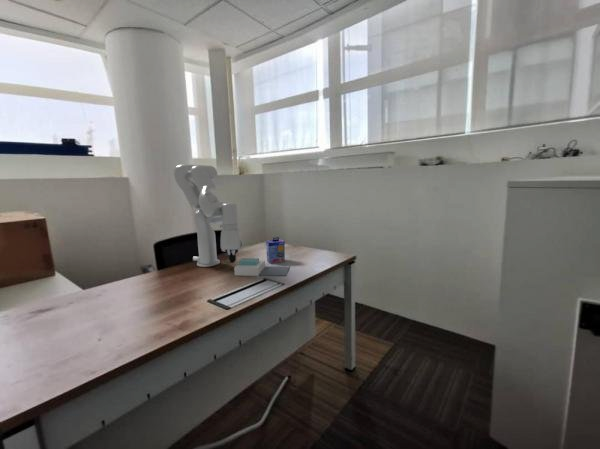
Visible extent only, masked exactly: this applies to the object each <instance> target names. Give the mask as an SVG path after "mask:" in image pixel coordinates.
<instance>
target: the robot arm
mask: <svg viewBox="0 0 600 449" xmlns="http://www.w3.org/2000/svg"><path fill="white" fill-rule="evenodd" d="M173 176H174V180H175V182H176V185H177V186H178V187H179V189H180V190H181V191H182V193H183V194H184V196H185V199H186V200H187V202H188V204H189V206H190V208H191V209H193V210H194V211H195V212H194V213H193V220H194V224H195V227H196V228H195V229H196V234H197V247H198V249H197V250H198V256H193V257H192V261H194V262H195V261H197V262H196V266H197V267H201V268H202V267H204V268H206V267H207V268H208V267H214V266H218V265H219V264H220V263H221V261H220V259H218V256H217V242H216V232H215V230H214V229H213V227H212V226H213V225H218V224H221V225H219V226H220V227H219V228H220V229H222V230H221V232H220V249H221V252H225V253H226V254H227V255H228V259H229V260H228V261H229V262H230V264H234V263H235V262H236V260H237V257H236V255H237V254H238V253H239V252H242V251H243V241H242V235H241V231H240V229H239V220H238V206H237V204H236V203H235V202H227V201H219V199H218V197H217V196H216V195H215V194H214V191H215V190H216V188H217V187H216V184H215V182H214V181H216V180H217V178H218V171H217V169H216V167H215V166H213V165H206V164H205V165H204V164H189V163H188V164H185V163H184V164H178V165H176V167H175V168H174V169H173ZM192 180H193V181H194V182H193V181H192Z"/></svg>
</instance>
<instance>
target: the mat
mask: <svg viewBox="0 0 600 449" xmlns="http://www.w3.org/2000/svg"><path fill="white" fill-rule="evenodd" d="M290 268H291V267H290V266H281V265H280V266H279V265H278V266H277V265H276V266H271V265H270V266H269V265H267V266H266V265H265V268H264V269H263V270H262V272H261V273H260V274H259V277H261V276H262V277H264V276H265V277H266V276H267V277H276V276H277V277H286V276H287V275H288V272H289V270H290Z"/></svg>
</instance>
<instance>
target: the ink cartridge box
mask: <svg viewBox="0 0 600 449" xmlns="http://www.w3.org/2000/svg"><path fill="white" fill-rule="evenodd" d="M265 243H266V246H265V247H266V248H265V249H266V262H267V263H268V264H275V263H282V262H283V261H284V262H285V261H286V258H285V257H286V254H285V252H286V251H285V248H286V246H285V240H283V239H280V236H277V237H272V240H266V241H265ZM284 262H283V263H284Z"/></svg>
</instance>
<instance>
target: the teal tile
mask: <svg viewBox="0 0 600 449" xmlns="http://www.w3.org/2000/svg"><path fill="white" fill-rule="evenodd" d="M259 260H260V258H259V257H258V258H257V257H256V258H255V257H254V258H253V257H252V258H251V257H245V258H244V257H242V258H240V259H239V260H238V264H239V265H257V264H258V263H259Z"/></svg>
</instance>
